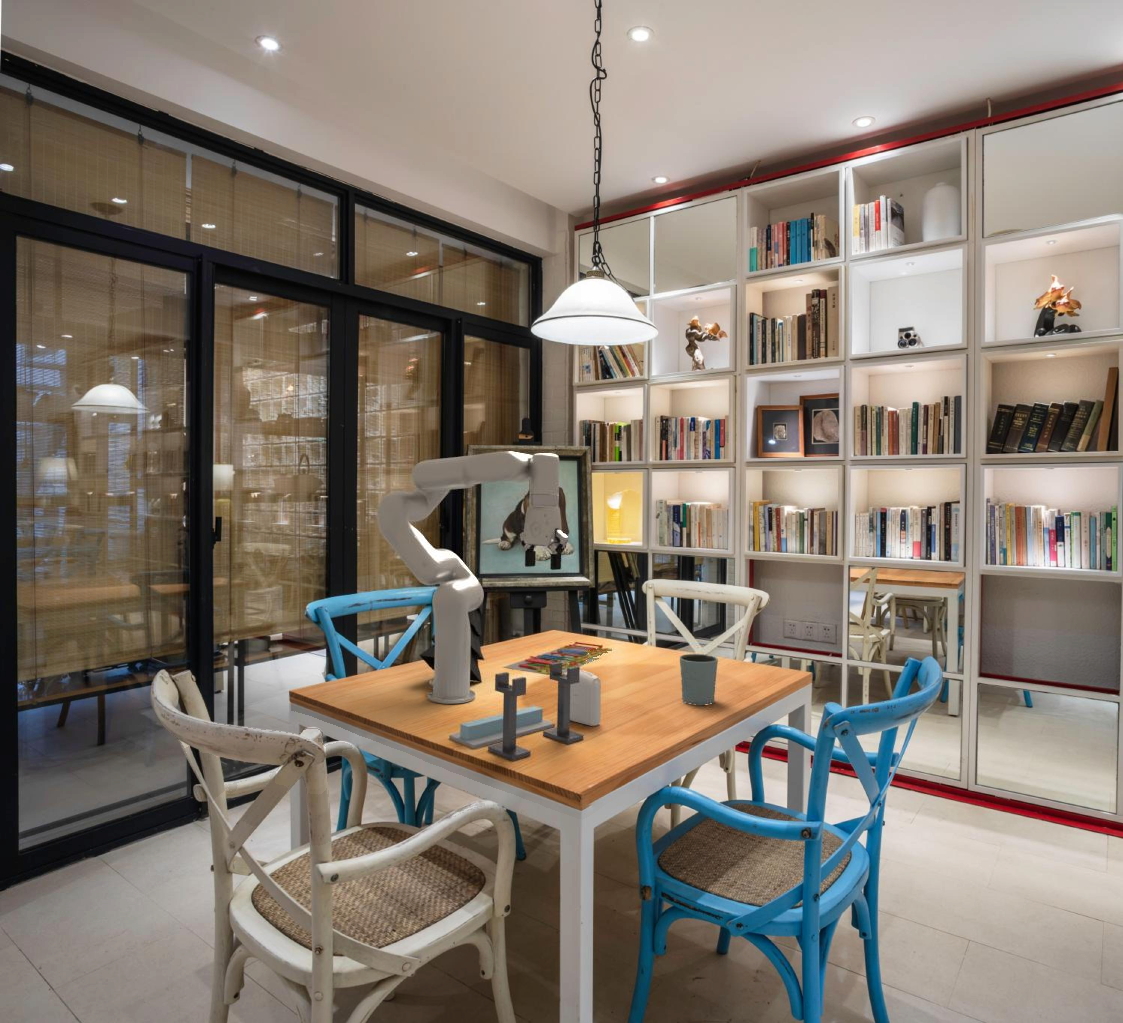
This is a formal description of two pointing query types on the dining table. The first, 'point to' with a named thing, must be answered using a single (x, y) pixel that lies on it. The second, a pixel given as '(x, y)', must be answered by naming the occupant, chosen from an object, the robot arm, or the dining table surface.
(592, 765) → the dining table surface
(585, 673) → the photo printer
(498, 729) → the rail
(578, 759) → the dining table surface
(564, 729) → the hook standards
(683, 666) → the grey green cup
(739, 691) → the dining table surface
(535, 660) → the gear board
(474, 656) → the decorative tree
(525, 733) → the felt mat
